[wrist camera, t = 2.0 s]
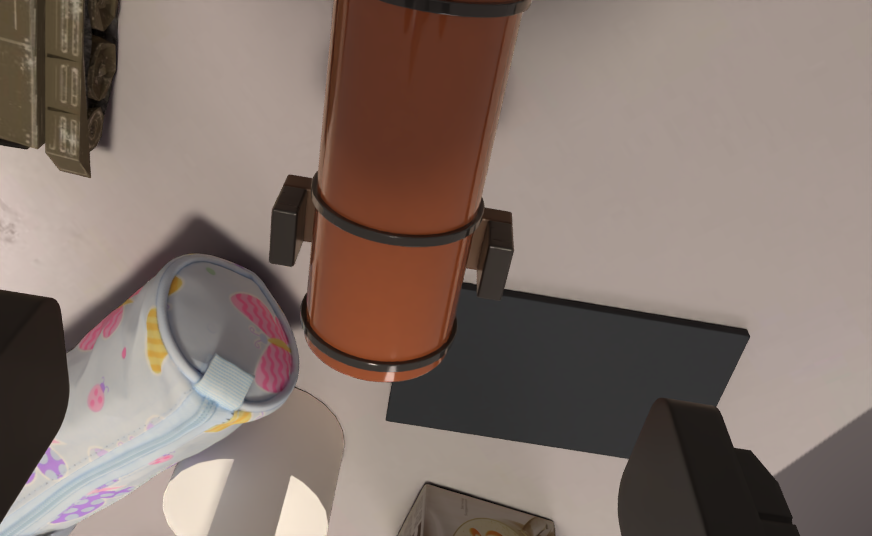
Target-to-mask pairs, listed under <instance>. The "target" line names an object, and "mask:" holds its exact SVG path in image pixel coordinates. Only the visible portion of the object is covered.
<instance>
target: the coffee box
mask: <svg viewBox="0 0 872 536" xmlns="http://www.w3.org/2000/svg"><path fill="white" fill-rule="evenodd" d="M398 536H555V527H554V523H553V522H552V521H549V520H546V519H543V518H539V517H536V516H533V515H529V514H526V513H522V512H519V511H515V510H512V509H509V508H506V507H502V506H499V505H495V504H492V503H489V502H486V501H482V500H479V499H476V498H472V497H469V496H466V495H462V494H459V493H455V492H452V491H449V490H445V489H442V488H438V487H435V486H432V485H428V484H426V485H425V486H424V487H423V489H422V491H421V492H420V494H419V496H418V498H417V500H416V502H415V504H414V506H413V507H412V509H411V511H410V513H409V515H408V517H407V519H406V521H405V523H404V525H403V527H402V528H401V530H400V532H399V535H398Z"/></svg>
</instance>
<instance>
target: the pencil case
mask: <svg viewBox="0 0 872 536" xmlns="http://www.w3.org/2000/svg"><path fill="white" fill-rule="evenodd" d="M66 358H67V366H68V375H69V384H70V394H69V402H68V407H67V411H66V414H65V418H64V420H63V423H62V425H61V427H60V430H59V431H58V433H57V435H56V436H55V438H54V440H53V441H52V443H51V444H50V446H49V448H48V449H47V451H46V452H45V454H44V455H43V457H42V459H41V460H40V462H39V463H38V465H37V467H36V468H35V470H34V471H33V473H32V475H31V476H30V478H29V479H28V481H27V482H26V484H25V486H24V487H23V489H22V490H21V492H20V494H19V495H18V497H17V498H16V500H15V502H14V503H13V505H12V506H11V508H10V509H9V511H8V513H7V514H6V516H5V517H4V519H3V521H2V522H1V524H0V536H68V535H69V534H70V533H71V532H72V531H73V529H74V528H75V526H76V525H77V523H79V522H81V521H82V520H84V519H86V518H88V517H89V516H91V515H93V514H95V513H96V512H98V511H100V510H102V509H104V508H106V507H108V506H110V505H112V504H114V503H115V502H117V501H118V500H120V499H122V498H123V497H125V496H127V495H128V494H130V493H132V492H133V491H134V490H136V489H137V488H139V487H140V486H142V485H143V484H145V483H146V482H147V481H149V480H150V479H151V478H153V477H154V476H156V475H157V474H159V473H161V472H163V471H165V470H166V469H168V468H170V467H171V466H173V465H175V464H177V463H178V462H180V461H182V460H183V459H185V458H188V457H191V456H193V455H195V454H198V453H200V452H202V451H203V450H205V449H207V448H208V447H210V446H211V445H213V444H215V443H217V442H218V441H220V440H222V439H224V438H225V437H227V436H228V435H230V434H231V433H232V432H233V431H235V430H236V429H237V428H238V427H240V426H241V425H242V424H243V423H247V422H251V421H254V420H257V419H260V418H262V417H265V416H267V415H269V414H271V413H273V412H274V411H276V410H277V409H279V408H280V407H281V406H282V405H283V404H284V403H285V402H286V400H287V399H288V397H289V395H290V393H291V392H292V390H293V388H294V387H295V385H296V382H297V378H298V374H299V354H298V349H297V345H296V341H295V338H294V335H293V332H292V330H291V327H290V325H289V322H288V321H287V319H286V317H285V315H284V313H283V311H282V310H281V308H280V307H279V305H278V303H277V302H276V300H275V299H274V297H273V296H272V295H271V293H270V292H269V290H268V289H267V288H266V286H265V284H264V282H263V281H262V280H261V279H260V278H259V277H258V276H257V275H256V274H255V273H254V272H252V271H250V270H248V269H246V268H244V267H242V266H240V265H237V264H235V263H233V262H230V261H227V260H225V259H222V258H219V257H215V256H212V255H207V254H199V253H196V254H186V255H182V256H179V257H176V258H174V259H172V260H171V261H169V262H168V263H167V264H166V265H165V266H164V267H163V268H162V269H161V270H160V271H159V272H158V273H157V275H156V276H155V277H153V278H152V279H151V280H149V281H148V282H147V283H146V284H145V285H144V286H143V287H141V288H140V289H139V290H138V291H137V292H135V293H134V294H133V295H132V296H131V297H130V298H128V299H127V300H126V301H125V302H124V303H123V304H122V305H121V306H119V307H118V308H117V309H115V310H114V311H112V312H111V313H110V314H109V315H108V316H106V317H105V318H104V319H103V320H102V321H101V322H100V323H99V324H98V325H97V326H96V327H94V328H93V329H92V330H91V331H90V332H88V333H87V334H86V335H85V337H84V338H83V339H82V340H81V341H80V342H79V344H78V345H77V346H76V347H75V348H74V349H73V350H71V351H69V352H68V353H66Z"/></svg>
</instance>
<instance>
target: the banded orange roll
mask: <svg viewBox="0 0 872 536" xmlns="http://www.w3.org/2000/svg"><path fill="white" fill-rule="evenodd" d="M531 1H532V0H334V1H333V12H332V23H331V34H330V45H329V56H328V67H327V78H326V89H325V100H324V111H323V122H322V133H321V144H320V155H319V166H318V171H317V172H316V173H315V175H314V177H313V179H312V183H311V198H312V201H313V204H314V205H315V210H314V221H313V232H312V243H311V254H310V265H309V276H308V287H307V293H306V294H305V296H304V298H303V300H302V304H301V310H300V321H301V325H302V328H303V330H304V334H305V338H306V341H307V343H308V345H309V347H310V349H311V350H312V352H313V353H314V354H315V355H316V356H317V357H318V358H319V359H320V360H321V361H322V362H323V363H325V364H326V365H328V366H329V367H331V368H332V369H334V370H336V371H338V372H340V373H343V374H345V375H347V376H350V377H354V378H357V379H361V380H366V381H373V382H399V381H405V380H410V379H414V378H417V377H419V376H422V375H424V374H426V373H428V372H430V371H431V370H433V369H434V368H435V367H437V366H438V364H439V363H440V362H441V361H442V360H443V359H444V357H445V355H446V353H447V352H448V351H449V350H450V348H451V347H452V345H453V343H454V341H455V338H456V334H457V328H458V323H457V317H456V311H457V307H458V302H459V298H460V293H461V289H462V284H463V279H464V275H465V270H466V266H467V261H468V257H469V252H470V248H471V243H472V239H473V234H474V231H475V230H476V229H477V228H478V227H479V225H480V223H481V221H482V218H483V214H484V201H483V198H482V193H483V189H484V184H485V180H486V175H487V171H488V166H489V162H490V157H491V153H492V148H493V144H494V139H495V135H496V130H497V126H498V121H499V117H500V112H501V107H502V103H503V98H504V94H505V89H506V85H507V80H508V76H509V71H510V67H511V62H512V58H513V53H514V49H515V44H516V40H517V35H518V31H519V26H520V21H521V17H522V12H524V11H526V10H527V9H528V8H529V7H530V5H531Z"/></svg>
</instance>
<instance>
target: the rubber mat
mask: <svg viewBox="0 0 872 536" xmlns="http://www.w3.org/2000/svg"><path fill="white" fill-rule="evenodd" d="M456 317H457V323H458V328H457V334H456V338H455V341H454V343H453V345H452V347H451V348H450V350H449V351H448V352H447V353H446V355H445V357H444V359H443V360H442V361H441V362H440V363H439V364H438V366H437V367H435V368H434V369H433V370H431V371H430V372H428V373H426V374H424V375H422V376H419V377H417V378H414V379H410V380H405V381H399V382H392V386H391V392H390V398H389V403H388V409H387V415H386V421H390V422H397V423H403V424H409V425H416V426H422V427H429V428H435V429H441V430H448V431H454V432H460V433H467V434H473V435H480V436H486V437H492V438H499V439H505V440H512V441H518V442H524V443H531V444H537V445H543V446H550V447H556V448H563V449H569V450H575V451H582V452H588V453H595V454H601V455H607V456H614V457H620V458H626V459H629V458H630V456H631V453H632V451H633V449H634V446H635V444H636V442H637V439H638V437H639V435H640V432H641V430H642V427H643V425H644V423H645V420H646V418H647V416H648V413H649V411H650V409H651V407H652V405H653V403H654V402H655V401H656V400H657V399H658V398H668V399H675V400H681V401H687V402H693V403H699V404H706V405H712V406H715V407H716V406H717V404H718V402H719V400H720V398H721V396H722V394H723V392H724V390H725V388H726V386H727V384H728V382H729V379H730V377H731V375H732V373H733V371H734V369H735V367H736V365H737V363H738V361H739V359H740V357H741V355H742V353H743V351H744V349H745V346H746V344H747V342H748V340H749V338H750V335H749V333H748V331H747V330H743V329H737V328H731V327H725V326H719V325H713V324H707V323H701V322H695V321H689V320H683V319H677V318H671V317H665V316H658V315H652V314H646V313H640V312H634V311H628V310H622V309H616V308H610V307H604V306H598V305H592V304H586V303H580V302H574V301H568V300H562V299H556V298H550V297H544V296H538V295H531V294H525V293H519V292H513V291H507V290H504V291H503V295H502V299H501V300H500V301H496V300H490V299H484V298H479V297H477V285H471V284H465V283H463V284H462V289H461V293H460V298H459V302H458V307H457V311H456Z"/></svg>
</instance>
